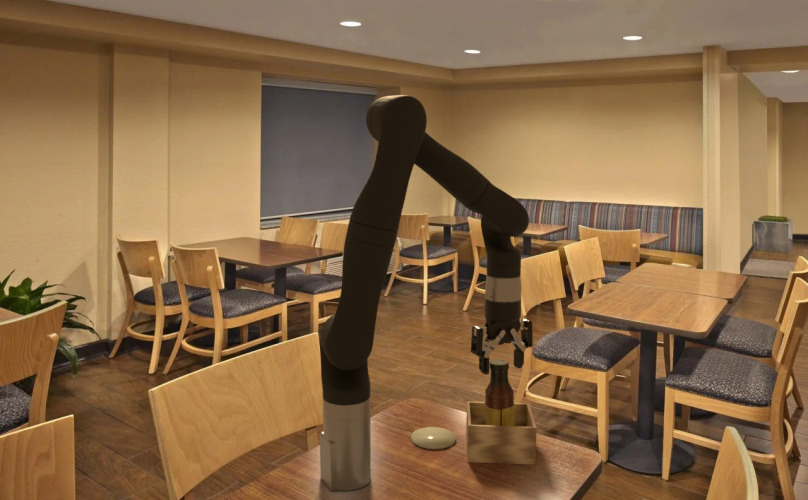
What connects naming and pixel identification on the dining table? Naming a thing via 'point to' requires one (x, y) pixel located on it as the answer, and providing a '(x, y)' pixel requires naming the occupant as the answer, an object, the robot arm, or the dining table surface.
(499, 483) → the dining table surface
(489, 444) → the caddy
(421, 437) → the saucer
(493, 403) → the sauce bottle
